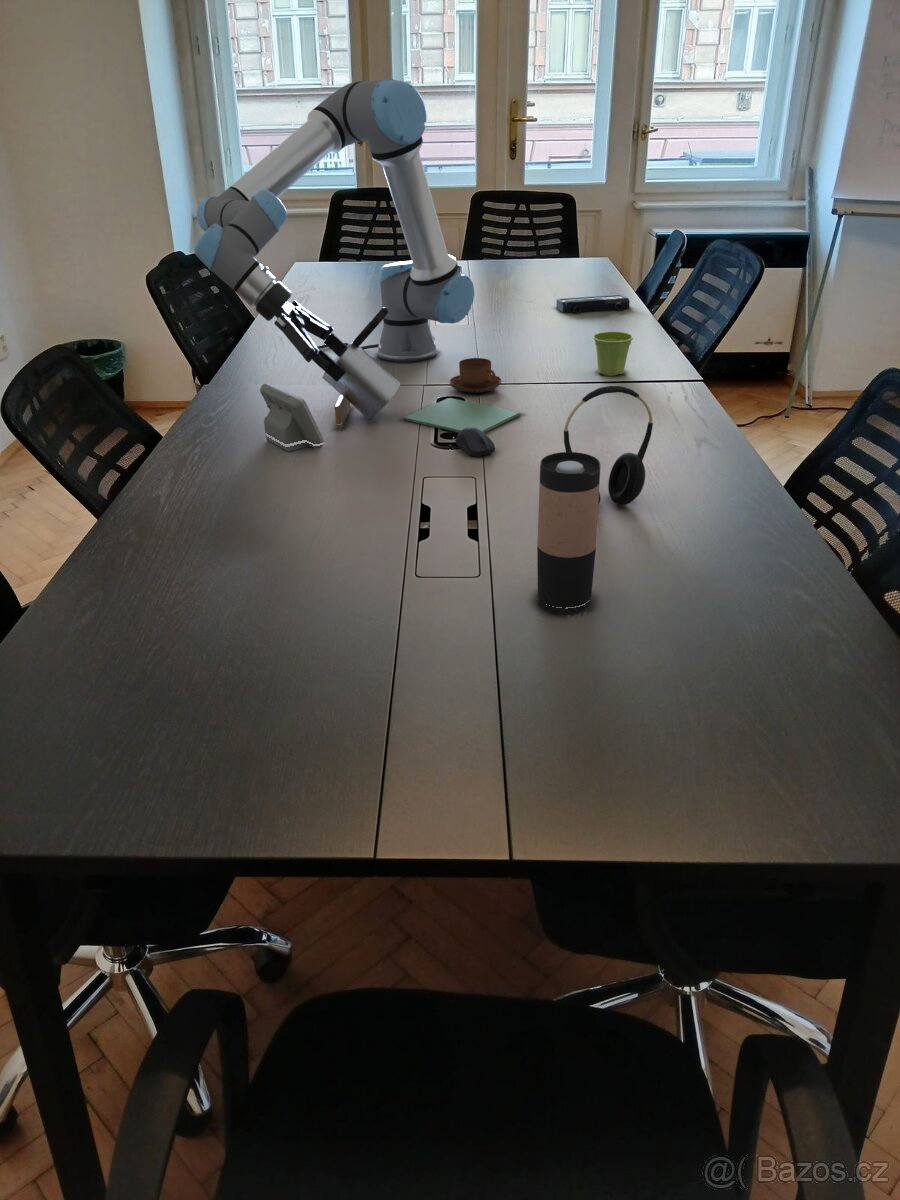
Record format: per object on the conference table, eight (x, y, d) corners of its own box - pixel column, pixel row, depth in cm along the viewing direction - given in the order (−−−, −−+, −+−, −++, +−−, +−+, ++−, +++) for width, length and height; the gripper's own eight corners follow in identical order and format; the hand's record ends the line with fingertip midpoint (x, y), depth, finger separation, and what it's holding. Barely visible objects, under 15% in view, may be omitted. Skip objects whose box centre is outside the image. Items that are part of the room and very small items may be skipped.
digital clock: (327, 450, 172) (322, 396, 167) (282, 458, 169) (275, 404, 163) (302, 426, 185) (296, 375, 179) (260, 433, 182) (252, 382, 176)
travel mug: (531, 589, 123) (534, 453, 112) (585, 585, 123) (593, 449, 113) (541, 617, 116) (545, 475, 106) (598, 613, 116) (608, 472, 106)
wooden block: (336, 429, 182) (334, 406, 180) (346, 408, 195) (344, 385, 192) (341, 429, 182) (339, 406, 180) (350, 408, 194) (348, 385, 192)
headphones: (655, 510, 144) (667, 389, 134) (568, 520, 142) (574, 398, 132) (636, 490, 151) (645, 374, 141) (553, 499, 149) (557, 382, 139)
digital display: (565, 303, 266) (556, 297, 274) (564, 314, 267) (555, 308, 276) (632, 298, 268) (621, 293, 277) (631, 309, 270) (620, 303, 279)
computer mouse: (473, 459, 165) (473, 439, 163) (450, 445, 173) (450, 425, 171) (499, 454, 168) (499, 434, 166) (475, 439, 175) (475, 420, 173)
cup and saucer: (509, 384, 207) (509, 357, 203) (489, 399, 197) (489, 371, 194) (462, 379, 211) (462, 353, 208) (441, 393, 202) (440, 366, 199)
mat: (403, 419, 186) (403, 417, 186) (449, 400, 197) (449, 397, 197) (476, 436, 176) (476, 433, 176) (520, 414, 187) (520, 412, 187)
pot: (323, 426, 184) (310, 314, 173) (330, 411, 193) (319, 303, 181) (400, 425, 184) (392, 312, 172) (404, 409, 192) (397, 301, 181)
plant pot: (630, 378, 208) (632, 341, 203) (589, 377, 209) (591, 340, 205) (631, 367, 215) (633, 331, 211) (592, 366, 217) (594, 331, 213)
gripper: (262, 292, 164) (349, 371, 171) (289, 268, 185) (365, 339, 192) (238, 322, 167) (325, 398, 174) (268, 295, 188) (343, 364, 195)
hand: (346, 367), depth 183 cm, fingers open, 13 cm apart
